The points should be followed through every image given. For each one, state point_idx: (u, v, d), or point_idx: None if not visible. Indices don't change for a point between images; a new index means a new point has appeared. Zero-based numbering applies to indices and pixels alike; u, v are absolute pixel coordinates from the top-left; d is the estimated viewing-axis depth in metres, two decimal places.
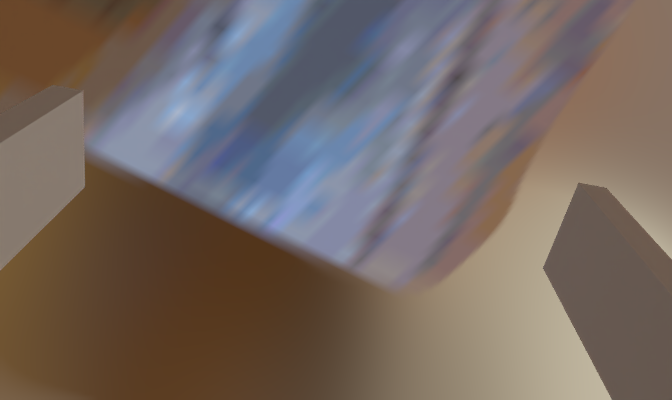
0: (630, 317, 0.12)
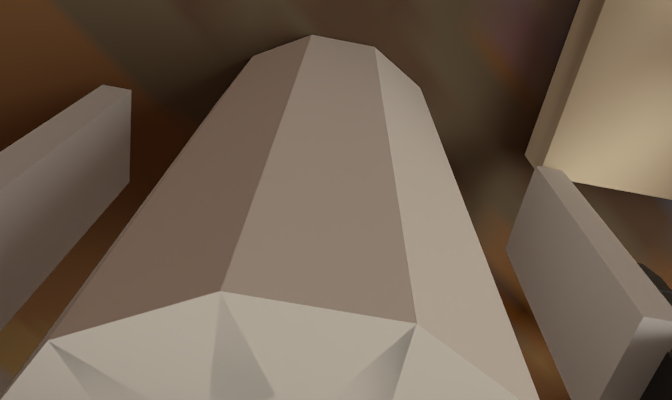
0: (573, 288, 0.12)
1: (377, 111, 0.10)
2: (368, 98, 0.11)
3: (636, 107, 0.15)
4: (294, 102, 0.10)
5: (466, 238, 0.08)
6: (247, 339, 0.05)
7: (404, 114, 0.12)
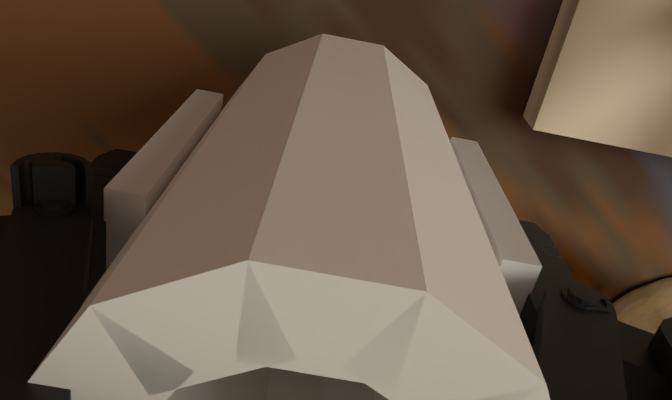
0: None
1: (387, 105, 0.11)
2: (378, 93, 0.12)
3: (610, 73, 0.18)
4: (308, 96, 0.11)
5: (472, 223, 0.09)
6: (271, 305, 0.06)
7: (413, 109, 0.12)
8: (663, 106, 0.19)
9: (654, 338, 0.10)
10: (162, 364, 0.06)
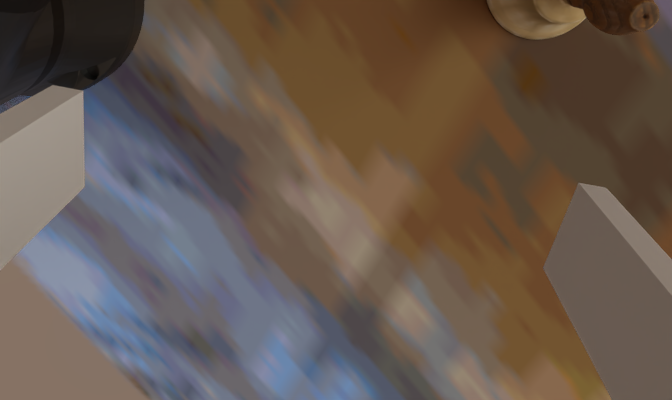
0: (630, 317, 0.12)
1: None
2: None
3: None
4: None
5: None
6: None
7: None
8: None
9: None
10: None
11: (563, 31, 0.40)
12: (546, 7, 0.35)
